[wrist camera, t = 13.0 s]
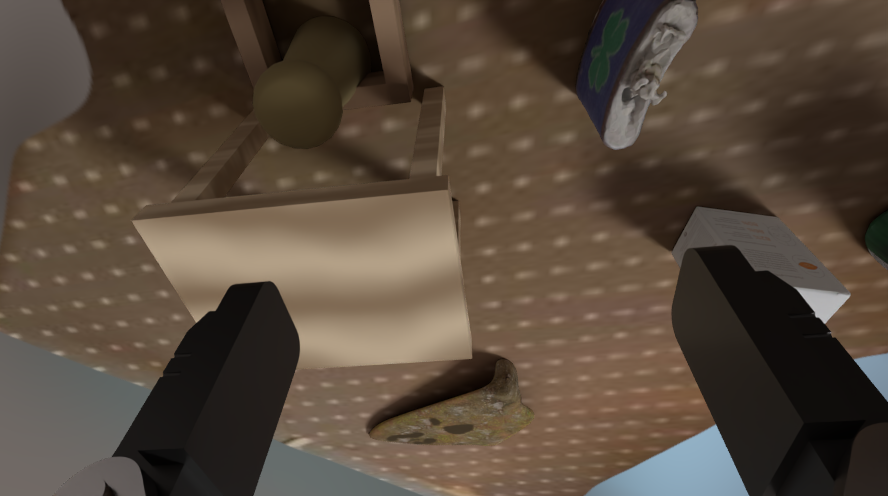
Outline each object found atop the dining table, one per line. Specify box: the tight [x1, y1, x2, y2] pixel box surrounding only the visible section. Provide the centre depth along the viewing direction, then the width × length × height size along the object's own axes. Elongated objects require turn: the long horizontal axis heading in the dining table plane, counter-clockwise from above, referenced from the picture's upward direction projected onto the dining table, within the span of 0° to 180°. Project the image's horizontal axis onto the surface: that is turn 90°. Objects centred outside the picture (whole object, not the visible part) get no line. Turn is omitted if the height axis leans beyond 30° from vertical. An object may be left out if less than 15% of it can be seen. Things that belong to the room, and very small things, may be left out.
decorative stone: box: [369, 359, 534, 446], centre depth 65 cm, size 25×15×5 cm, turn 128°
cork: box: [253, 16, 371, 149], centre depth 32 cm, size 6×6×11 cm
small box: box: [672, 207, 851, 324], centre depth 41 cm, size 8×6×10 cm
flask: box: [576, 0, 698, 150], centre depth 31 cm, size 9×3×11 cm, turn 167°
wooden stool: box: [132, 86, 472, 370], centre depth 38 cm, size 21×17×16 cm
